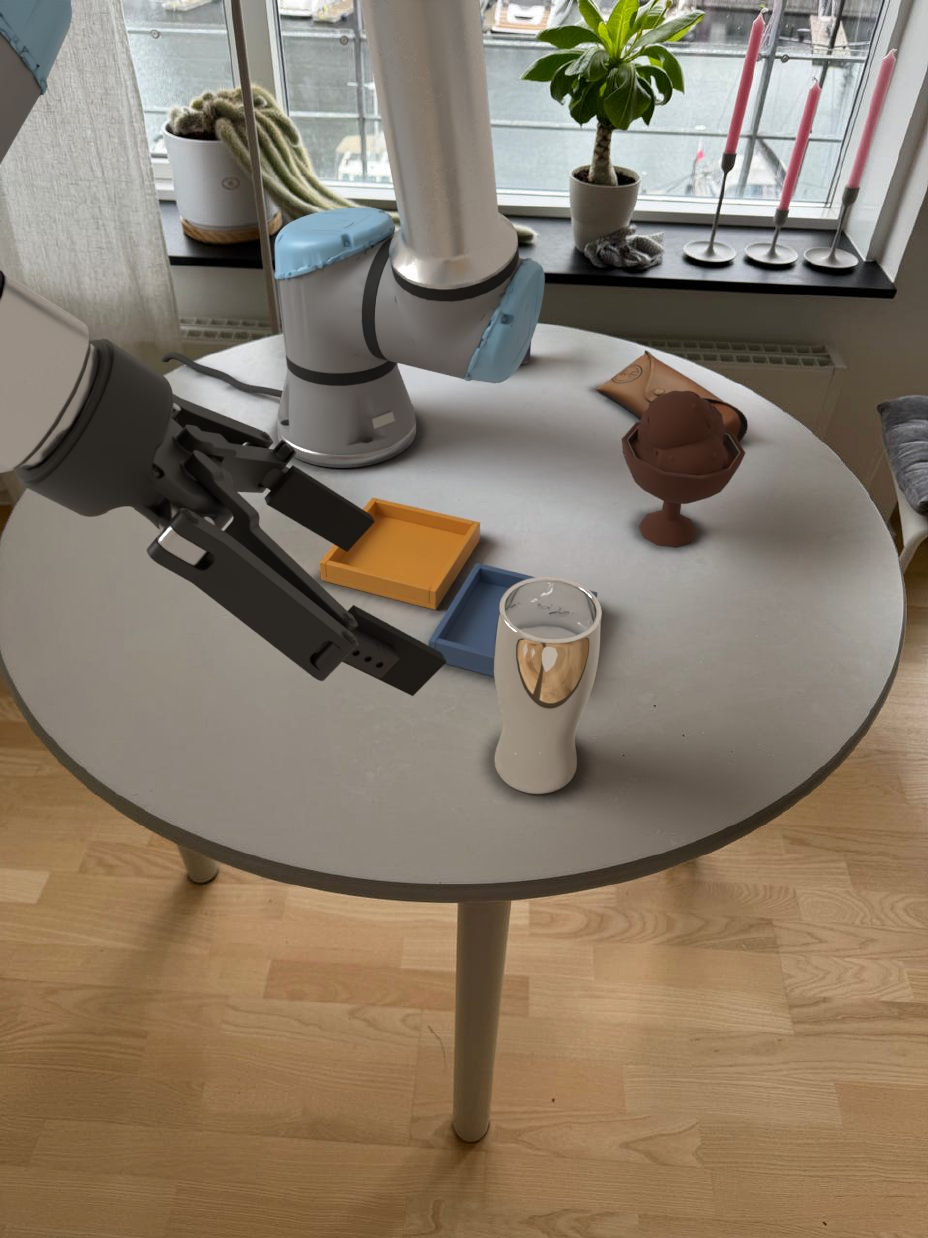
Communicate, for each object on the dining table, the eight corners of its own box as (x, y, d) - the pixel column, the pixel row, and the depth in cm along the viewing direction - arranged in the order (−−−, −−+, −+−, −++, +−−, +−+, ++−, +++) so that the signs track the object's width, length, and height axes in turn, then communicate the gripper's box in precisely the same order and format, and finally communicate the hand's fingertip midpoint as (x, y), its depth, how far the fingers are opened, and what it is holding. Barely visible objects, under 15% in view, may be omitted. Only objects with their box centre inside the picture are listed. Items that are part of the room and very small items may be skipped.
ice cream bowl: (725, 570, 89) (760, 427, 80) (605, 554, 91) (624, 412, 81) (725, 507, 97) (757, 369, 87) (614, 493, 99) (633, 356, 89)
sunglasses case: (589, 386, 115) (617, 335, 113) (625, 402, 120) (653, 352, 117) (689, 456, 104) (723, 400, 101) (724, 470, 108) (758, 417, 106)
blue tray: (428, 659, 80) (428, 640, 78) (475, 580, 88) (476, 562, 86) (558, 695, 77) (560, 676, 75) (595, 610, 85) (597, 592, 83)
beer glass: (483, 730, 74) (490, 576, 64) (573, 725, 74) (594, 572, 64) (493, 802, 69) (502, 646, 59) (590, 797, 69) (615, 641, 59)
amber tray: (321, 580, 87) (319, 562, 86) (373, 514, 95) (372, 497, 94) (435, 610, 84) (435, 591, 83) (479, 540, 92) (480, 522, 91)
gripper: (4, 351, 52) (302, 526, 66) (7, 642, 35) (413, 799, 48) (82, 241, 50) (373, 446, 64) (129, 491, 33) (516, 699, 46)
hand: (391, 598), depth 56 cm, fingers open, 13 cm apart
